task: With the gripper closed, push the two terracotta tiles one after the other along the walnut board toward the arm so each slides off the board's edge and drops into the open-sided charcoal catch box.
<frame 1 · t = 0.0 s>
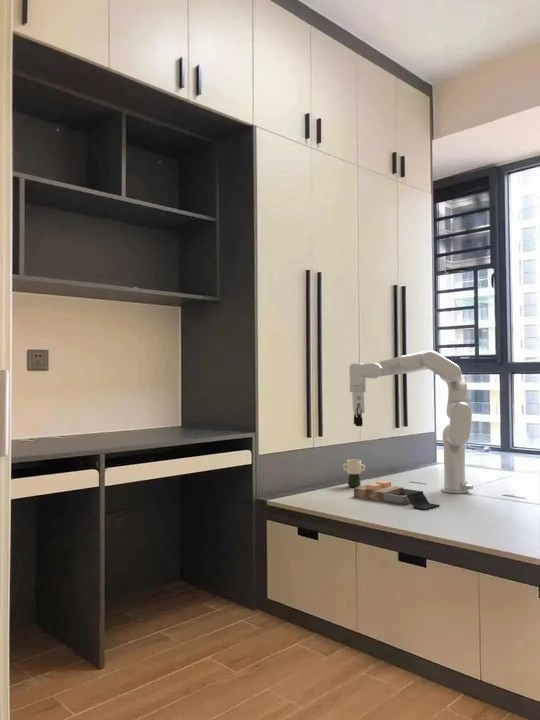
hand: (358, 425, 295), 31 cm above the cabinet, tool pointing down, fingers open, 9 cm apart
character mug: (354, 487, 305), on the cabinet
tile 1: (373, 488, 278), point 4 cm above the cabinet, touching board
tile 2: (383, 486, 284), point 4 cm above the cabinet, touching board
board: (378, 496, 281), on the cabinet
black sloped piece: (423, 508, 259), on the cabinet
catch box: (403, 500, 272), on the cabinet
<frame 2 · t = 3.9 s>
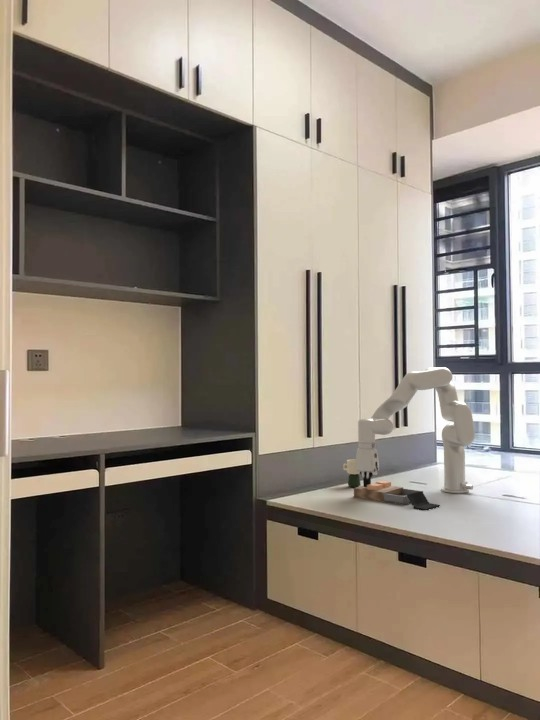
hand: (367, 486, 281), 5 cm above the cabinet, tool pointing down, fingers closed
tile 1: (374, 489, 278), point 4 cm above the cabinet, touching board, gripper
everything else where it was.
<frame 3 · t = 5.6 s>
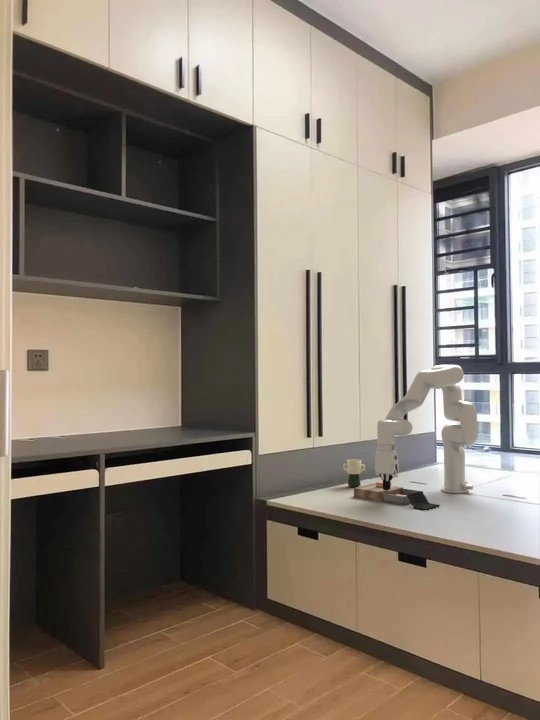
hand: (386, 489, 274), 5 cm above the cabinet, tool pointing down, fingers closed
tile 1: (399, 495, 269), point 3 cm above the cabinet, tilted 180°, touching catch box
everything else where it was.
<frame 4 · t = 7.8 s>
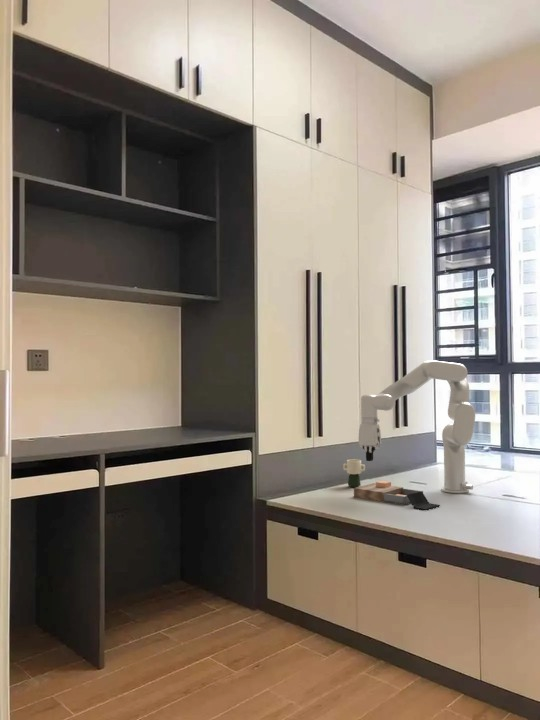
hand: (369, 460, 289), 15 cm above the cabinet, tool pointing down, fingers closed
nothing on the cabinet moved.
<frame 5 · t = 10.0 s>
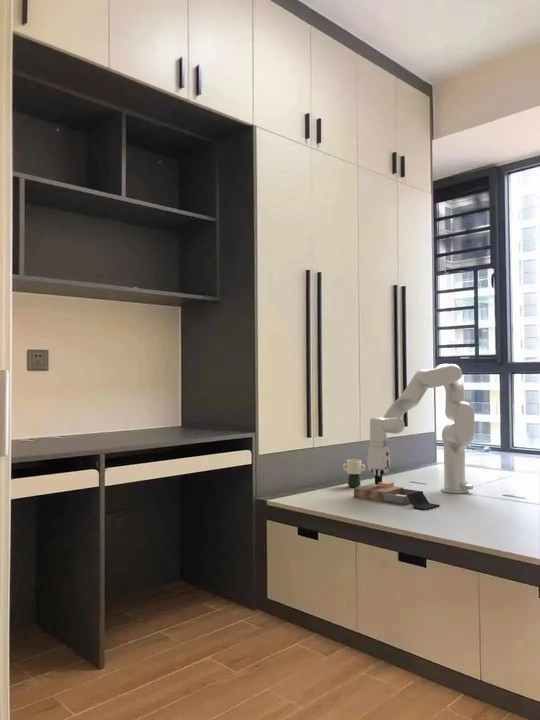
hand: (378, 484, 286), 5 cm above the cabinet, tool pointing down, fingers closed
tile 2: (386, 486, 283), point 4 cm above the cabinet, touching gripper
everything else where it was.
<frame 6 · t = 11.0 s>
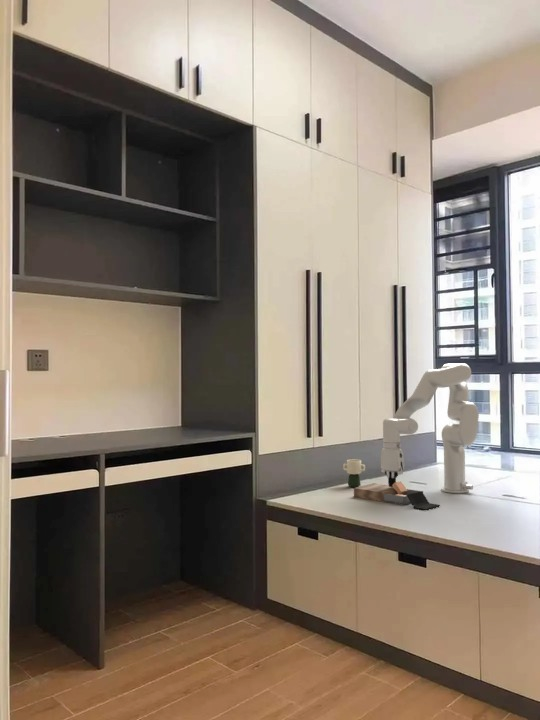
hand: (392, 486, 281), 5 cm above the cabinet, tool pointing down, fingers closed
tile 2: (398, 489, 278), point 4 cm above the cabinet, tilted 46°, touching board
everything else where it was.
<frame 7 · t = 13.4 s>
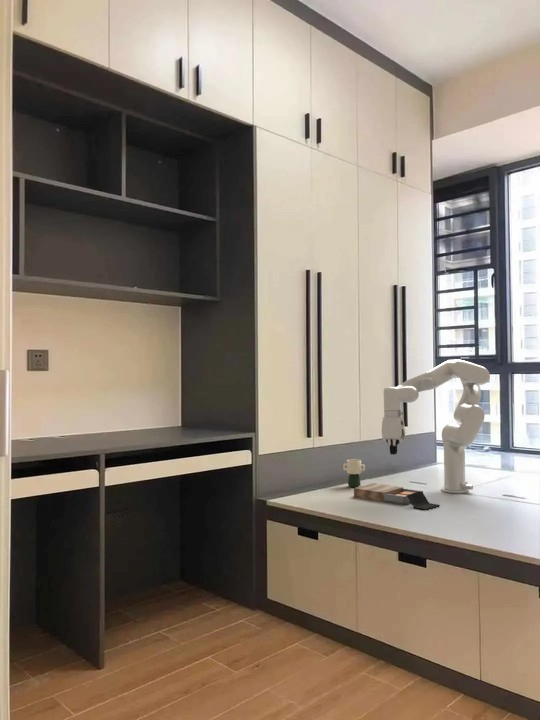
hand: (393, 454, 284), 19 cm above the cabinet, tool pointing down, fingers closed
tile 2: (407, 492, 275), point 3 cm above the cabinet, tilted 180°, touching catch box
everything else where it was.
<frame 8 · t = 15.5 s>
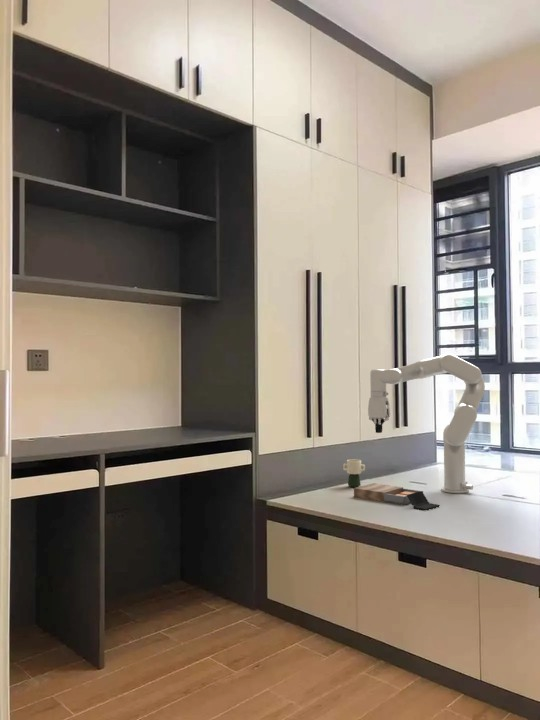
hand: (378, 432, 300), 27 cm above the cabinet, tool pointing down, fingers closed
nothing on the cabinet moved.
at the end: tile 1 inside the target area (4.2 cm from its centre), point 2.8 cm above the cabinet; tile 2 inside the target area (3.4 cm from its centre), point 2.8 cm above the cabinet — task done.
